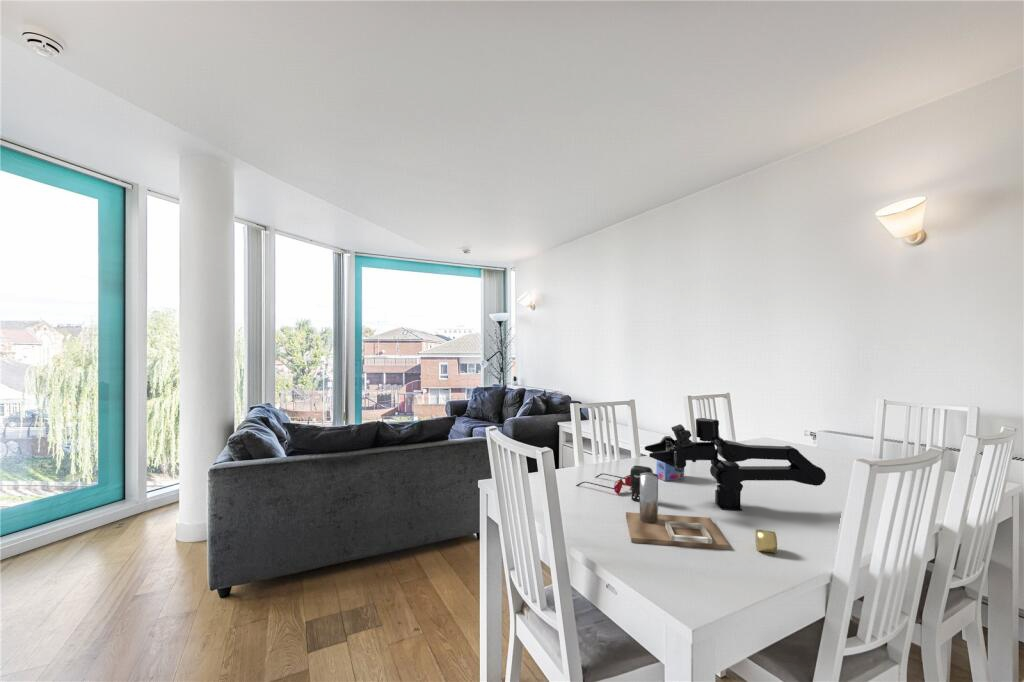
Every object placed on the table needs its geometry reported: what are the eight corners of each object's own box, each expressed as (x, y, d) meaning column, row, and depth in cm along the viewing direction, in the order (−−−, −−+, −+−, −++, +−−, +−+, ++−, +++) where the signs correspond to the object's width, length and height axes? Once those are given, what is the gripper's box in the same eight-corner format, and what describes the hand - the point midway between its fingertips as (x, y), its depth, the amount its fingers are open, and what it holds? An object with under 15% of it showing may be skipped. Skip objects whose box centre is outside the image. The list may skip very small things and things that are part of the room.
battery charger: (628, 500, 151) (629, 466, 151) (632, 497, 154) (632, 463, 154) (649, 505, 147) (650, 469, 147) (653, 501, 150) (653, 466, 150)
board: (710, 521, 134) (710, 513, 134) (728, 549, 116) (728, 540, 116) (625, 516, 138) (625, 508, 138) (631, 542, 120) (631, 533, 120)
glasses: (616, 497, 155) (616, 482, 155) (575, 486, 166) (575, 473, 166) (635, 487, 166) (635, 473, 166) (595, 478, 177) (595, 465, 177)
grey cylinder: (656, 517, 134) (656, 472, 134) (659, 524, 129) (659, 478, 129) (638, 516, 135) (639, 472, 135) (640, 522, 130) (641, 477, 130)
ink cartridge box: (665, 481, 171) (666, 443, 171) (655, 477, 176) (655, 440, 176) (685, 478, 175) (685, 440, 175) (674, 474, 180) (675, 438, 180)
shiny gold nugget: (755, 543, 119) (772, 545, 118) (758, 554, 114) (776, 557, 113) (755, 525, 118) (773, 527, 117) (759, 536, 113) (777, 538, 112)
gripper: (688, 421, 157) (641, 421, 159) (704, 432, 138) (651, 432, 140) (689, 453, 157) (642, 453, 159) (705, 468, 138) (652, 469, 140)
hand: (647, 451), depth 149 cm, fingers open, 9 cm apart
